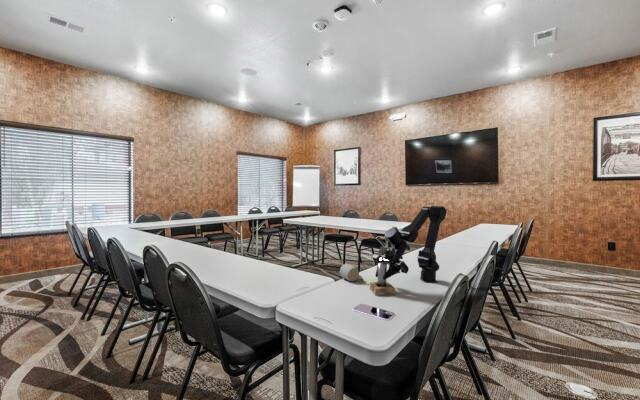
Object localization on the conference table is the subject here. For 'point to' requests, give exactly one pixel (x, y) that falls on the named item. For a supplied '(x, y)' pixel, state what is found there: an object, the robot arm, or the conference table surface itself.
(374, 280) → the coaster
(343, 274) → the ceramic mug
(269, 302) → the conference table surface
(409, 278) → the conference table surface
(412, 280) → the conference table surface
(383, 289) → the wooden peg socket
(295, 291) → the conference table surface
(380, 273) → the peg
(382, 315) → the mobile phone
